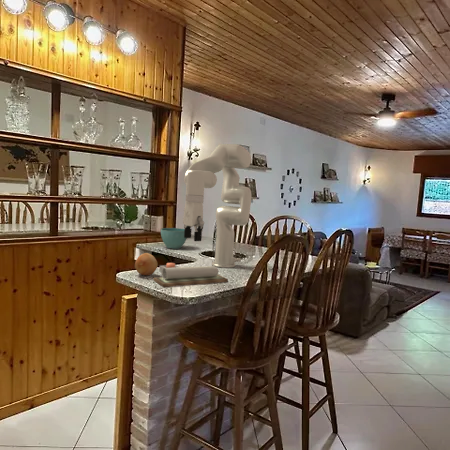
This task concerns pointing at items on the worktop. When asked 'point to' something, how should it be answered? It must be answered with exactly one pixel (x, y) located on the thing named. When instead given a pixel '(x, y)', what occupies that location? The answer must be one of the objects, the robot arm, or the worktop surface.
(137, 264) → the onion
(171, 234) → the plant pot
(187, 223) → the robot arm
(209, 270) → the tube
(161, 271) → the button housing
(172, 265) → the button
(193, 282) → the board
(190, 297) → the worktop surface
